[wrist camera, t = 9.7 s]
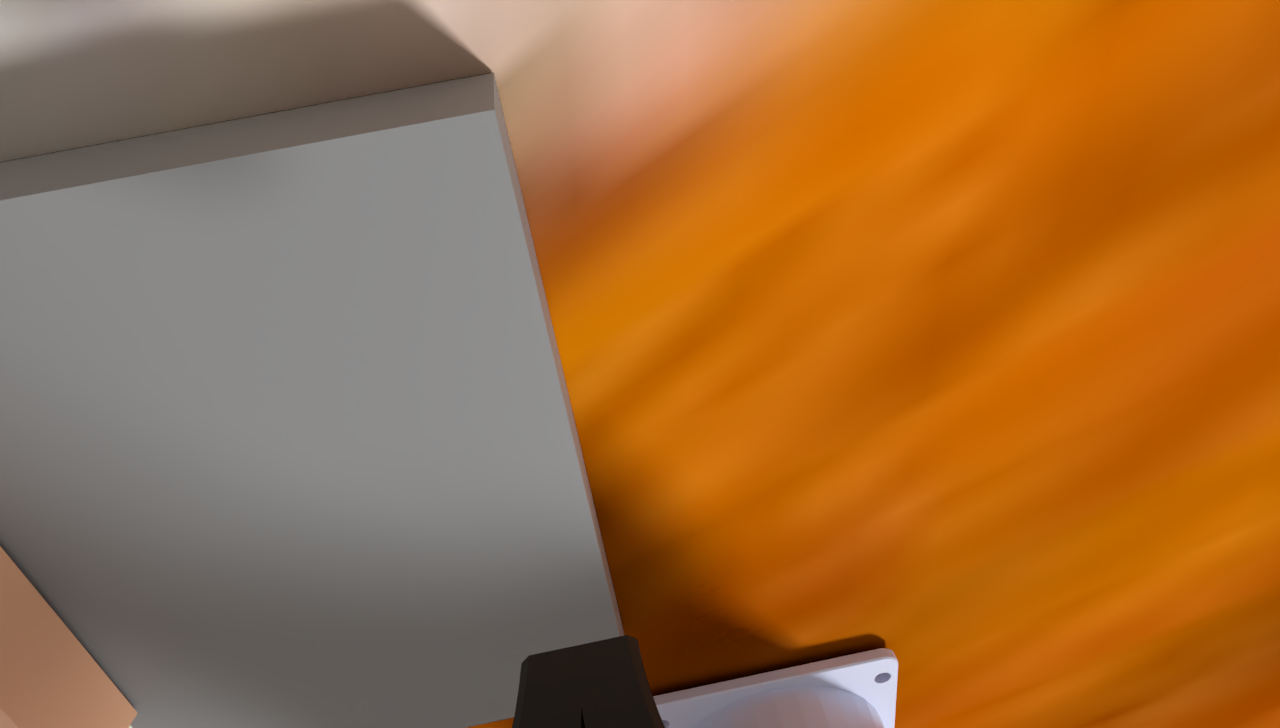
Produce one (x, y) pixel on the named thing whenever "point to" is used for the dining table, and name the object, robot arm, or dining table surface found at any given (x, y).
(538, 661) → the robot arm
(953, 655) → the dining table surface
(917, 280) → the dining table surface
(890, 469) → the dining table surface
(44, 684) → the tile
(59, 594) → the riser
